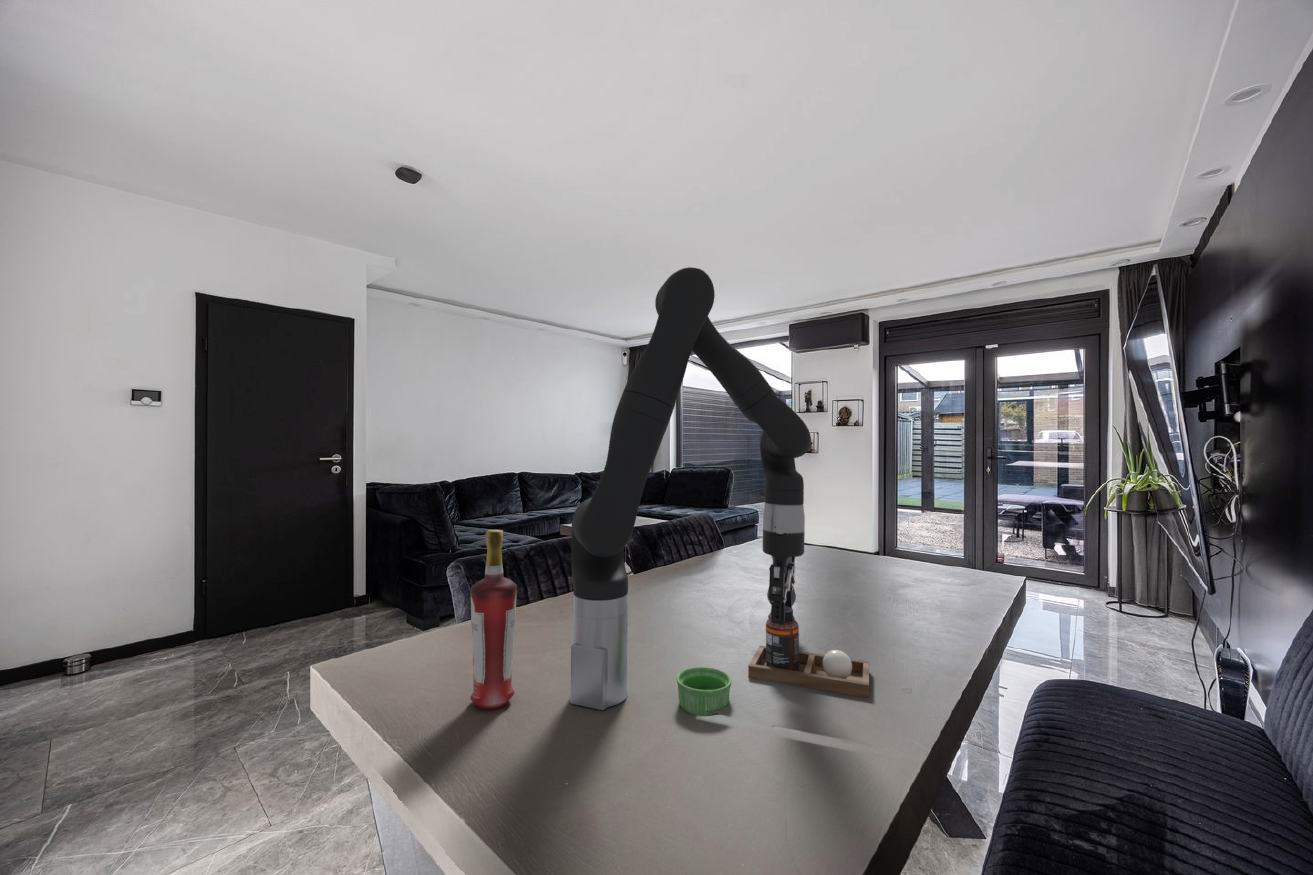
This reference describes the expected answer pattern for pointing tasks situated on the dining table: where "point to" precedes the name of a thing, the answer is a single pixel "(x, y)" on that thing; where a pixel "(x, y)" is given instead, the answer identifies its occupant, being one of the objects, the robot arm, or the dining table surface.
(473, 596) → the liquor
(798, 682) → the holder
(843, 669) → the egg
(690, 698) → the ramekin
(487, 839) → the dining table surface
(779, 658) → the supplement bottle
